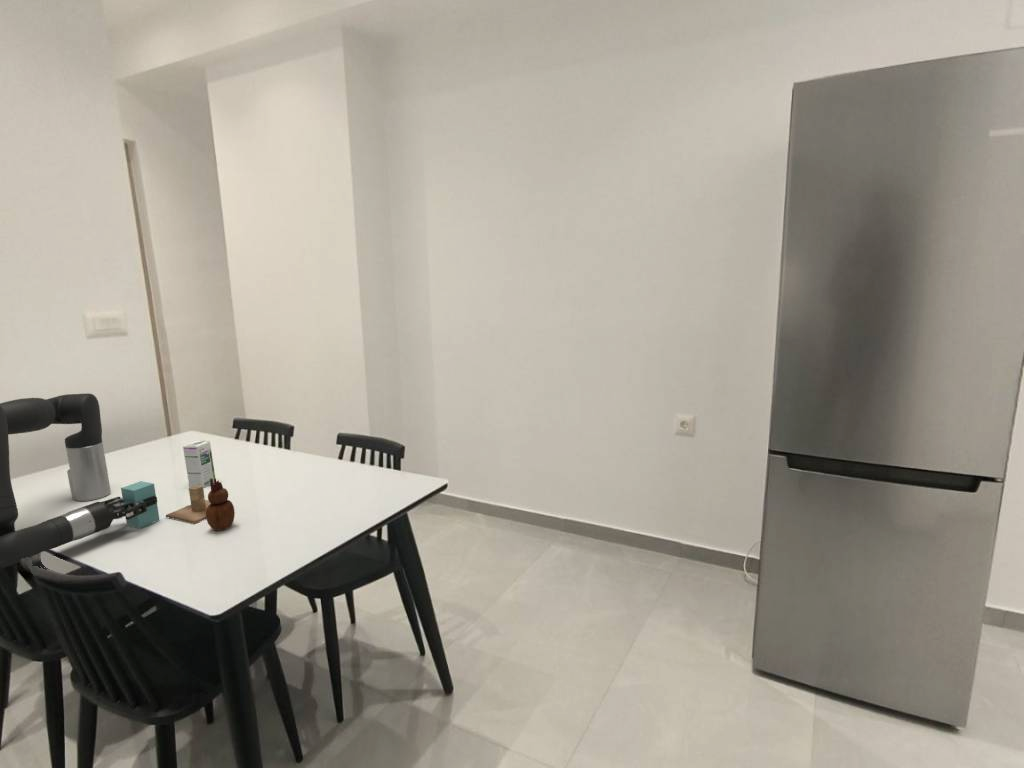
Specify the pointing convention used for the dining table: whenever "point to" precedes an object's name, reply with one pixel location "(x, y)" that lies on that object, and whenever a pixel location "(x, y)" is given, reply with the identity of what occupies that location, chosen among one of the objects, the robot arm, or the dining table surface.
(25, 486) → the dining table surface
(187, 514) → the brown base plate
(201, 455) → the syrup box
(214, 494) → the wooden figurine
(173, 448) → the dining table surface
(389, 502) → the dining table surface
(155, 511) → the tall teal pillar
